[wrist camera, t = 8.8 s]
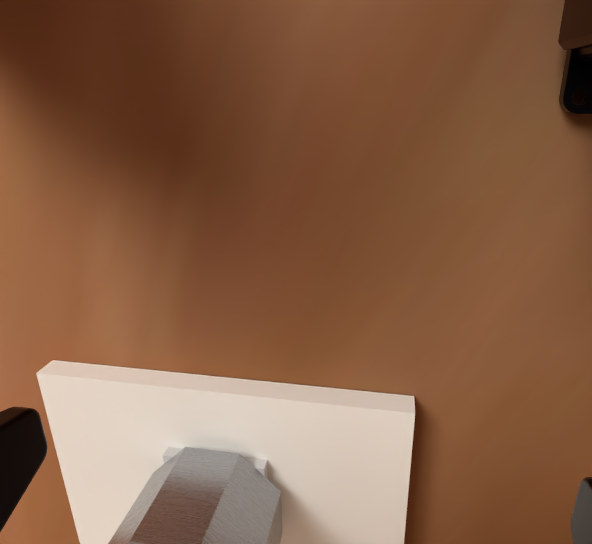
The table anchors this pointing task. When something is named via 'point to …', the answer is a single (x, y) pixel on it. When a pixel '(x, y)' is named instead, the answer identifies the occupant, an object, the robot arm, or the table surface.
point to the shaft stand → (233, 446)
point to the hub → (204, 503)
